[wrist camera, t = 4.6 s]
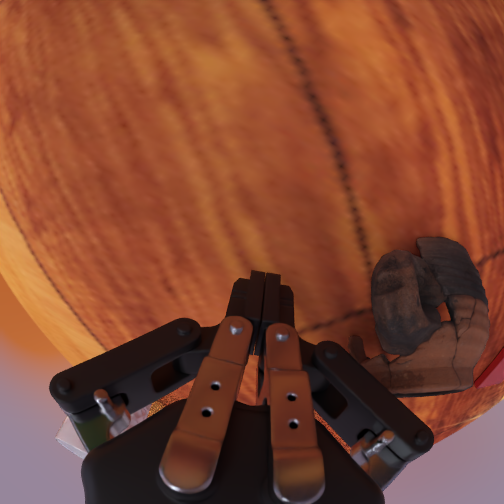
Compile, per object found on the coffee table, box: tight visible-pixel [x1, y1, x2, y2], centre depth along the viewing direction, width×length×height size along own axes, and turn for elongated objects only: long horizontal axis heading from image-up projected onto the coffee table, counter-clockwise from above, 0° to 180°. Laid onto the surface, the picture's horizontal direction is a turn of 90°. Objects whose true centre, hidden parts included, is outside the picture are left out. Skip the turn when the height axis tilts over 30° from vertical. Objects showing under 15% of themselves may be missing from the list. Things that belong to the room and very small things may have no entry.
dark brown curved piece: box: [348, 237, 490, 398], centre depth 13 cm, size 12×10×8 cm
